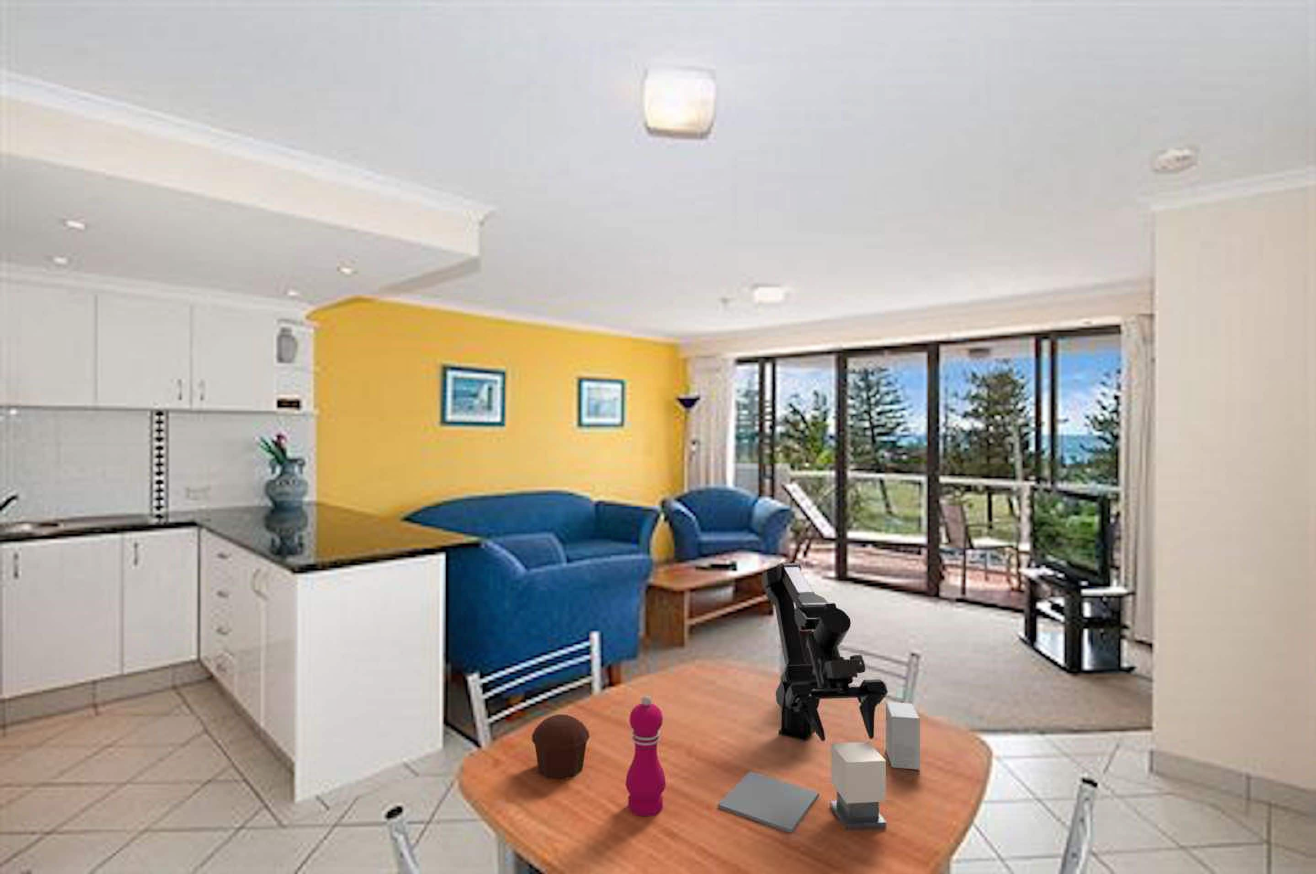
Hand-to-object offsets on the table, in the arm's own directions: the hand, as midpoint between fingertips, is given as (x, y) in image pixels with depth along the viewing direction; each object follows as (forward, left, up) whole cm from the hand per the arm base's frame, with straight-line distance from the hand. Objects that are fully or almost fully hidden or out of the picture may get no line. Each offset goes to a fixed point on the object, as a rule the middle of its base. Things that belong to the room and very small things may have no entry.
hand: (848, 739), depth 119 cm
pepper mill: (-30, -21, -12) cm, 39 cm away
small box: (+5, +23, -12) cm, 26 cm away
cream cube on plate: (+3, -3, -7) cm, 8 cm away
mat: (-12, -7, -12) cm, 19 cm away
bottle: (-24, +43, -12) cm, 51 cm away
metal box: (+3, -3, -12) cm, 13 cm away
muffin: (-52, -19, -12) cm, 57 cm away
